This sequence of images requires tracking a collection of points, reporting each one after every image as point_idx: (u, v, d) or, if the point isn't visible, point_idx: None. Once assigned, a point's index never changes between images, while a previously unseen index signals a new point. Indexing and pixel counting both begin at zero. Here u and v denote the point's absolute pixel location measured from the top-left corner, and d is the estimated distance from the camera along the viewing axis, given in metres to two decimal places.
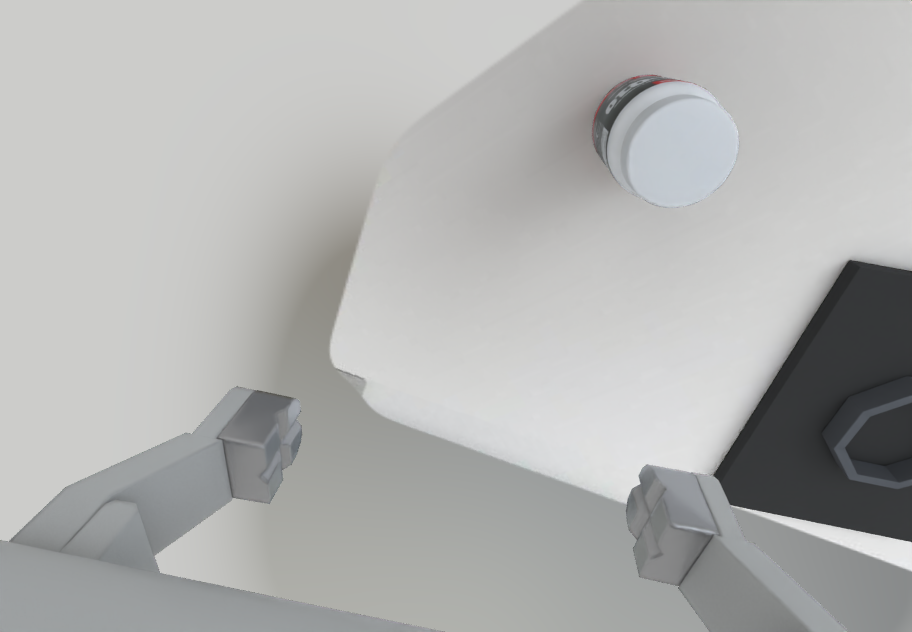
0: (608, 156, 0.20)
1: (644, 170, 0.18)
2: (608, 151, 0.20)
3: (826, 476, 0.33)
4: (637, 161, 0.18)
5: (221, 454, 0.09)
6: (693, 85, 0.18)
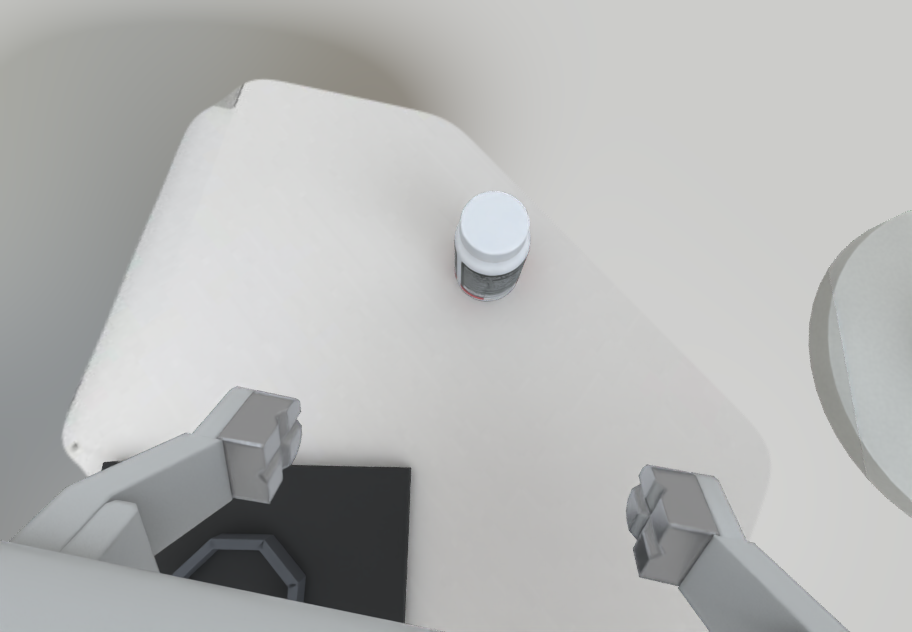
0: None
1: (482, 202, 0.27)
2: None
3: None
4: (487, 197, 0.27)
5: (221, 454, 0.09)
6: None
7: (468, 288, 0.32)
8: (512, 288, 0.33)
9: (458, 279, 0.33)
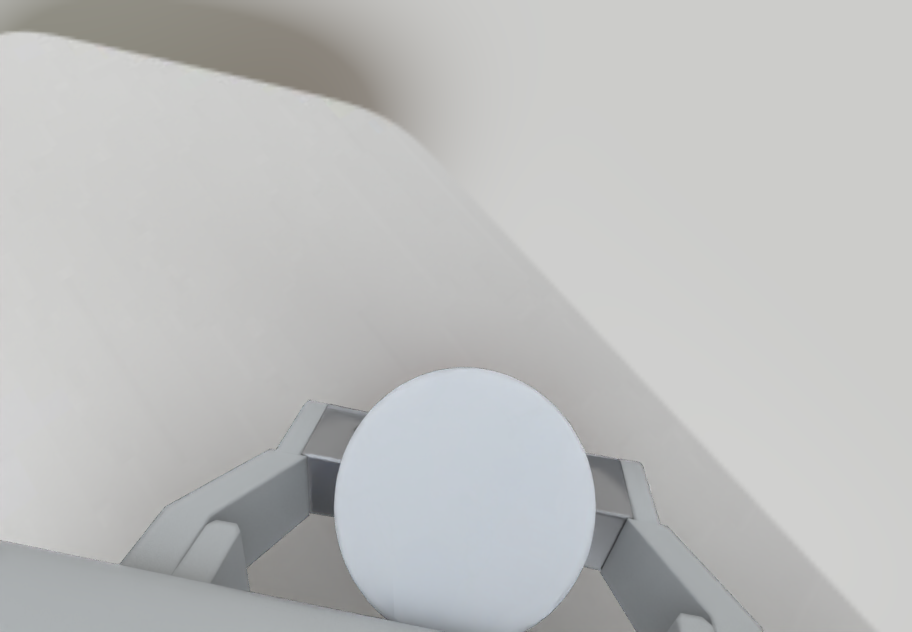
0: None
1: (421, 417, 0.07)
2: None
3: None
4: (439, 394, 0.07)
5: (304, 470, 0.09)
6: None
7: None
8: None
9: None
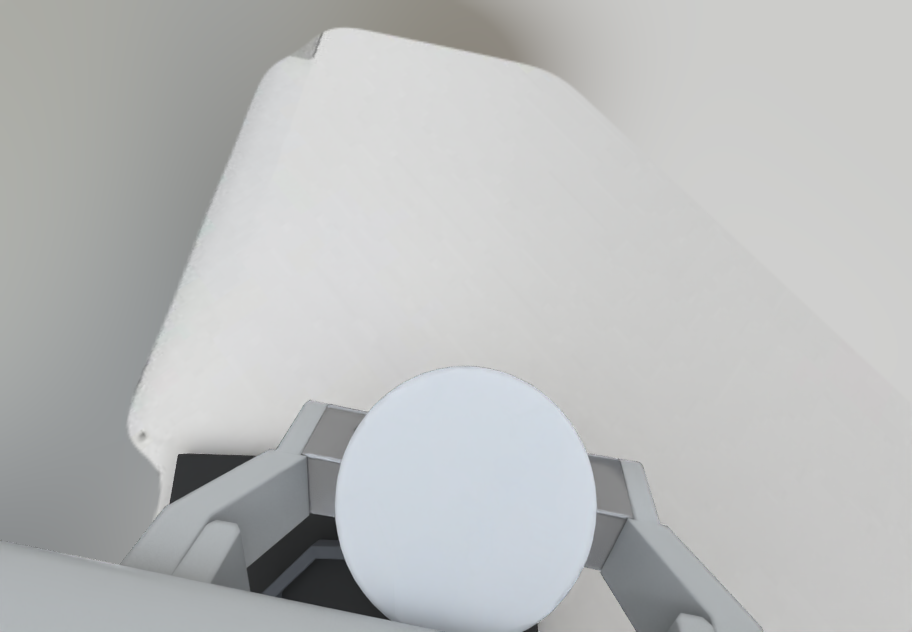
0: None
1: (421, 415, 0.07)
2: None
3: None
4: (440, 393, 0.07)
5: (304, 470, 0.09)
6: None
7: None
8: None
9: None
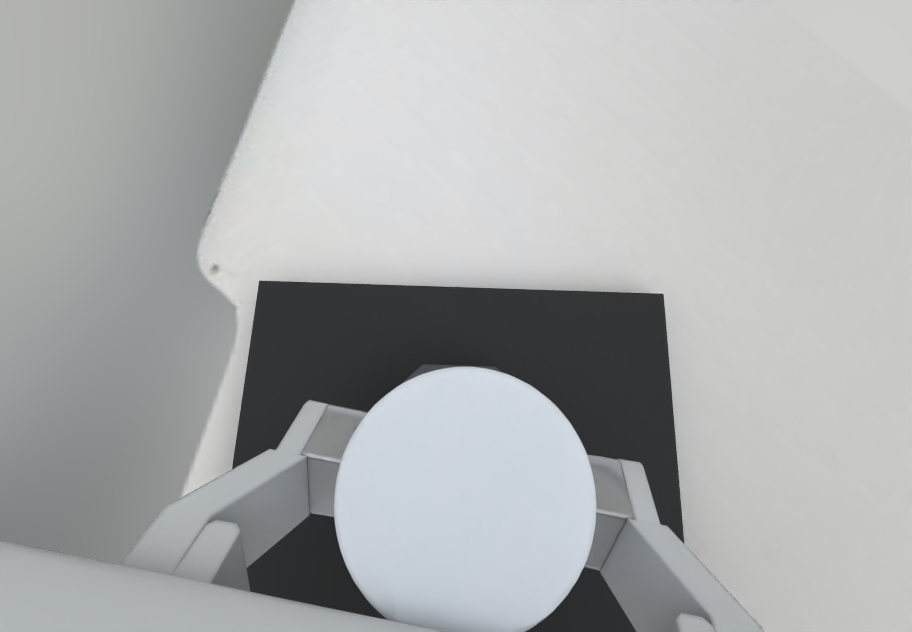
0: None
1: (421, 416, 0.07)
2: None
3: None
4: (439, 393, 0.07)
5: (304, 470, 0.09)
6: None
7: None
8: None
9: None
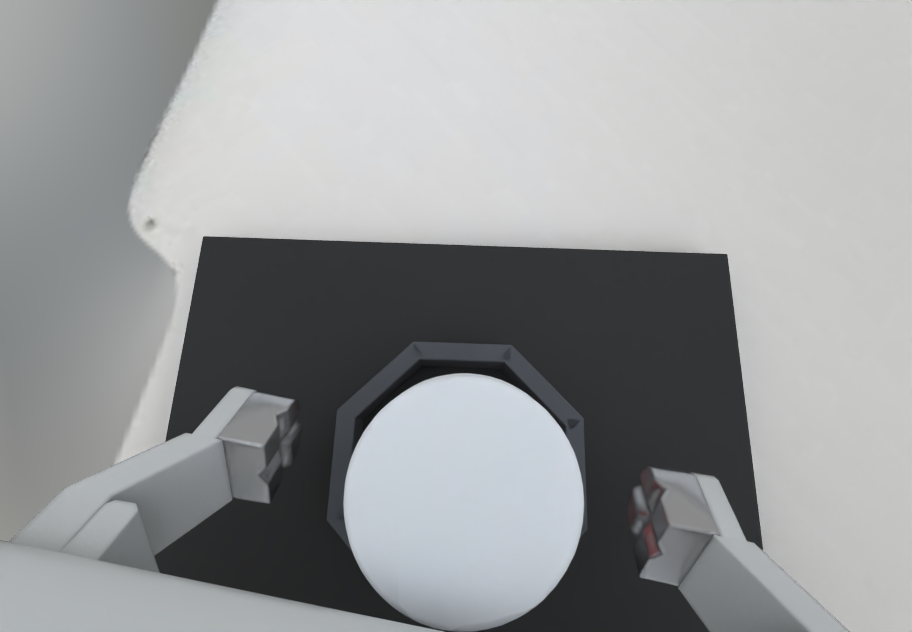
0: (428, 379, 0.10)
1: (423, 421, 0.08)
2: None
3: (306, 413, 0.16)
4: (440, 400, 0.08)
5: (221, 454, 0.09)
6: None
7: None
8: None
9: None
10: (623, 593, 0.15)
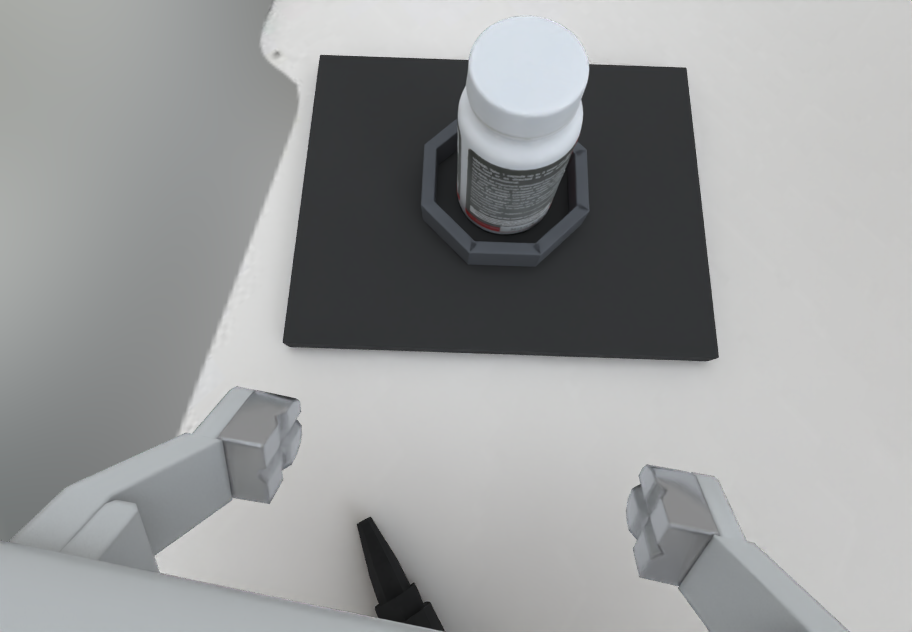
0: None
1: (507, 33, 0.15)
2: None
3: (398, 162, 0.24)
4: (515, 24, 0.16)
5: (221, 454, 0.09)
6: (582, 114, 0.17)
7: (477, 210, 0.21)
8: (543, 215, 0.22)
9: (462, 199, 0.22)
10: (613, 266, 0.22)
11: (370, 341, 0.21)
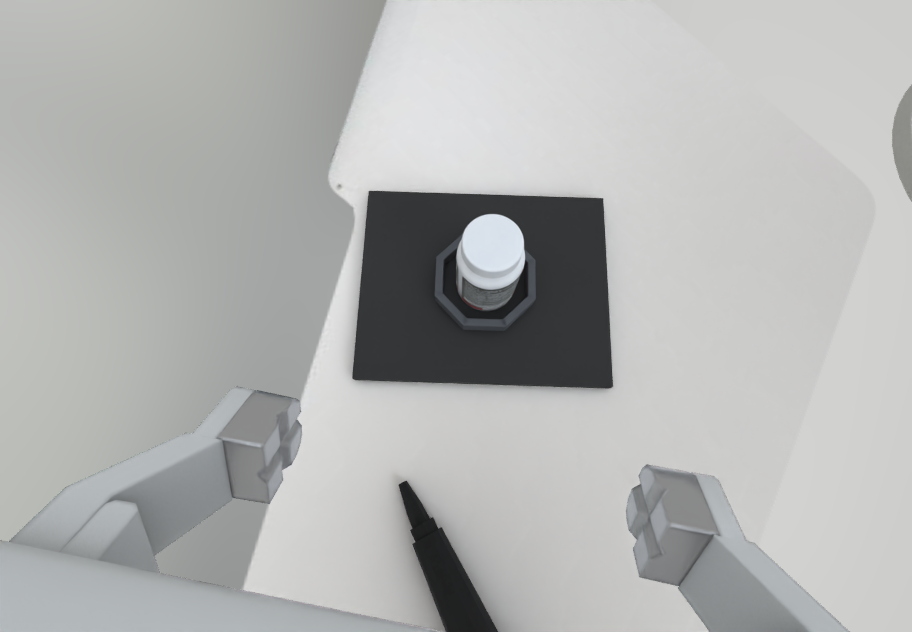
0: None
1: (481, 224, 0.30)
2: None
3: (420, 263, 0.38)
4: (486, 219, 0.30)
5: (221, 454, 0.09)
6: (524, 258, 0.32)
7: (468, 299, 0.35)
8: (508, 300, 0.36)
9: (459, 291, 0.36)
10: (551, 330, 0.37)
11: (404, 377, 0.36)
